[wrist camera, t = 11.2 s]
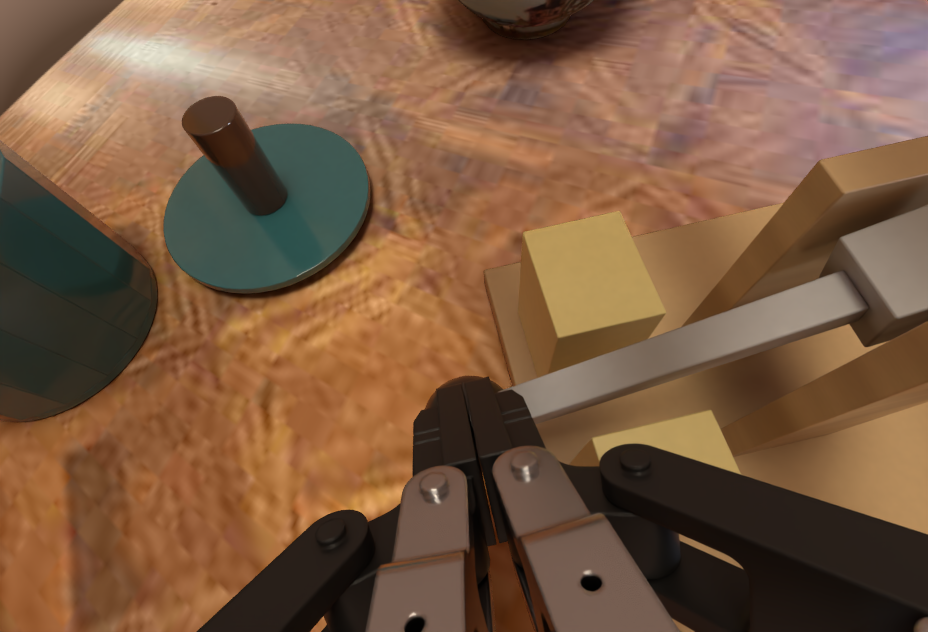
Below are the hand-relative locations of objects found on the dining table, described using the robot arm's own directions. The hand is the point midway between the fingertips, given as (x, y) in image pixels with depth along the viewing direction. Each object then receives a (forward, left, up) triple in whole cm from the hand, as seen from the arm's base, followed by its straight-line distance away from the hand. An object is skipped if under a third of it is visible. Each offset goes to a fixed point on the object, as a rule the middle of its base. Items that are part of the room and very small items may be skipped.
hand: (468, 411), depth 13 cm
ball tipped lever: (+5, -3, -1) cm, 6 cm away
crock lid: (+1, +18, -7) cm, 19 cm away
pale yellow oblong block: (+6, +1, -6) cm, 9 cm away
